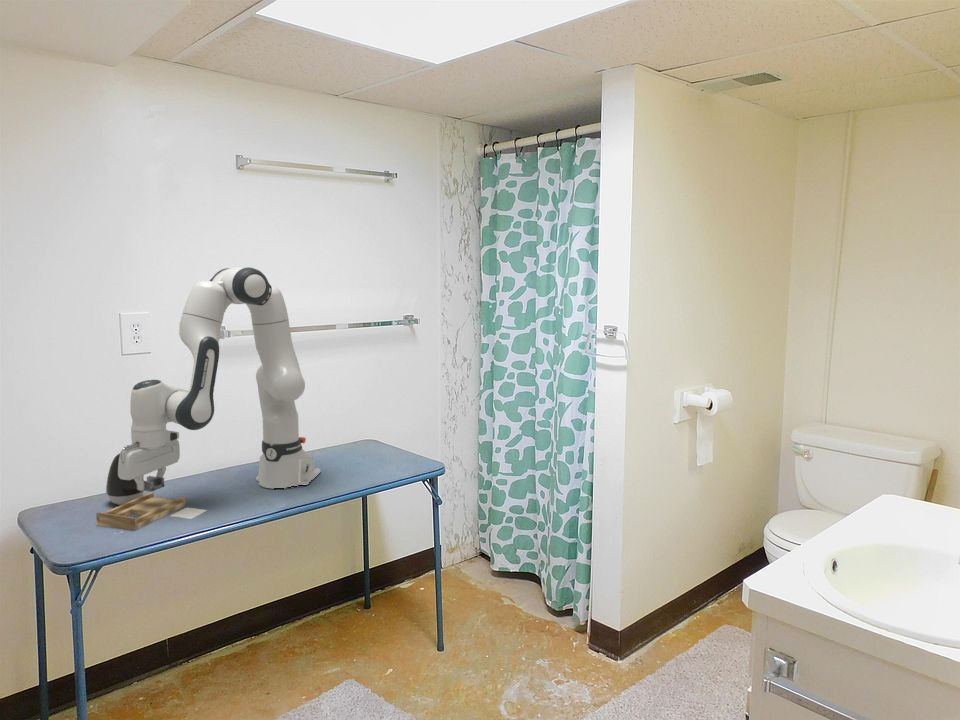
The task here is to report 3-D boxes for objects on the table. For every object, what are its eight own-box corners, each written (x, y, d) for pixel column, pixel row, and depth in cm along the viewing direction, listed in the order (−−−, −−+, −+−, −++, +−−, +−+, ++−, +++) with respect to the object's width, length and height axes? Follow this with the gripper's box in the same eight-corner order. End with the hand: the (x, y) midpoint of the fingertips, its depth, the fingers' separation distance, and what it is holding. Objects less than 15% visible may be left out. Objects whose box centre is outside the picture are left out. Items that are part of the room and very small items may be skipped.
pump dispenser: (103, 509, 201) (100, 458, 199) (111, 497, 211) (108, 448, 208) (142, 507, 204) (139, 456, 201) (148, 495, 214) (145, 446, 211)
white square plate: (186, 511, 201) (186, 507, 201) (207, 514, 199) (207, 510, 199) (169, 520, 194) (169, 515, 194) (191, 523, 192) (191, 518, 192)
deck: (151, 504, 206) (150, 489, 205) (186, 509, 203) (185, 494, 202) (97, 529, 187) (96, 513, 186) (134, 534, 184) (133, 518, 183)
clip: (149, 484, 200) (149, 475, 200) (164, 486, 199) (164, 477, 199) (136, 489, 196) (136, 480, 195) (151, 491, 194) (151, 483, 194)
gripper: (130, 448, 185) (132, 499, 186) (183, 431, 204) (184, 477, 206) (110, 446, 186) (112, 496, 188) (165, 429, 206) (166, 475, 208)
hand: (150, 486), depth 197 cm, fingers closed on clip, 5 cm apart
